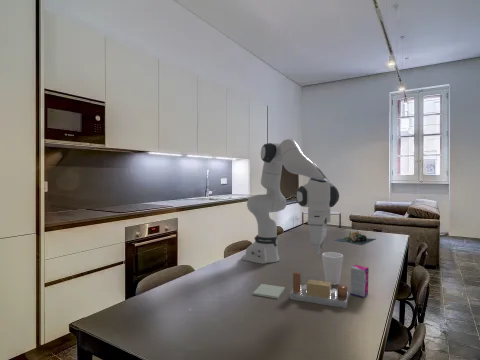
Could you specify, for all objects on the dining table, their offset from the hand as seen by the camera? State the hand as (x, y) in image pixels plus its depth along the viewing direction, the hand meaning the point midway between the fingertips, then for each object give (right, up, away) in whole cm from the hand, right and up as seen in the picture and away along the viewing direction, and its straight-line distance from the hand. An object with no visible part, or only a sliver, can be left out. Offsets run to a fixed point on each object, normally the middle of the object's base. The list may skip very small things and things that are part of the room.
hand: (319, 251), depth 122 cm
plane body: (0, -20, 0) cm, 20 cm away
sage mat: (-20, -20, +8) cm, 29 cm away
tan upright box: (0, -17, 0) cm, 17 cm away
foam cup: (+11, -19, +18) cm, 29 cm away
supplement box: (+18, -20, +4) cm, 27 cm away
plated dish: (+56, -18, +107) cm, 122 cm away
